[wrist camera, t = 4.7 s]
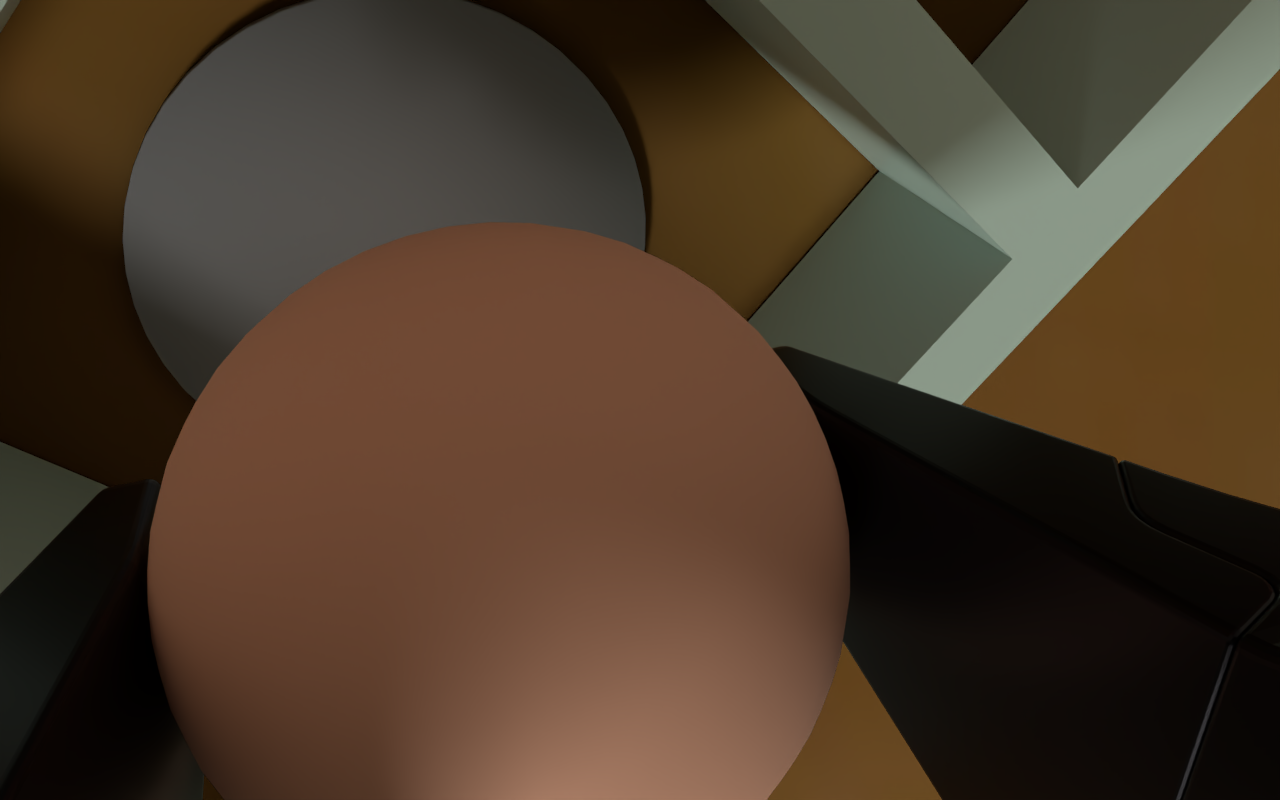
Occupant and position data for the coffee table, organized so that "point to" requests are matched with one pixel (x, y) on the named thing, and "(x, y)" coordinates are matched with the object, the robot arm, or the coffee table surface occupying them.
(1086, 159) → the sage green shelf frame
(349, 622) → the ball
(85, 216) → the coffee table surface
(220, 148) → the gray disc
